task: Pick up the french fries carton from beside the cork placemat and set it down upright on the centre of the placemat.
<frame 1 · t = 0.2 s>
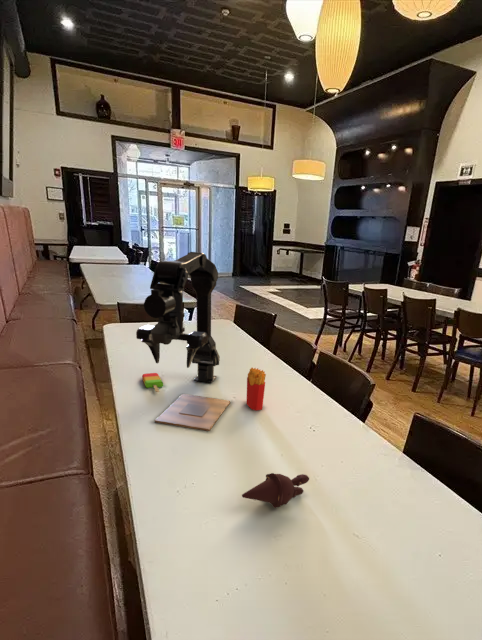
hand: (172, 365, 116), 15 cm above the table, tool pointing down, fingers open, 9 cm apart
popsicle: (153, 386, 139), on the table
placemat: (194, 411, 123), on the table
icecream: (274, 503, 86), on the table
french fries: (254, 406, 130), on the table
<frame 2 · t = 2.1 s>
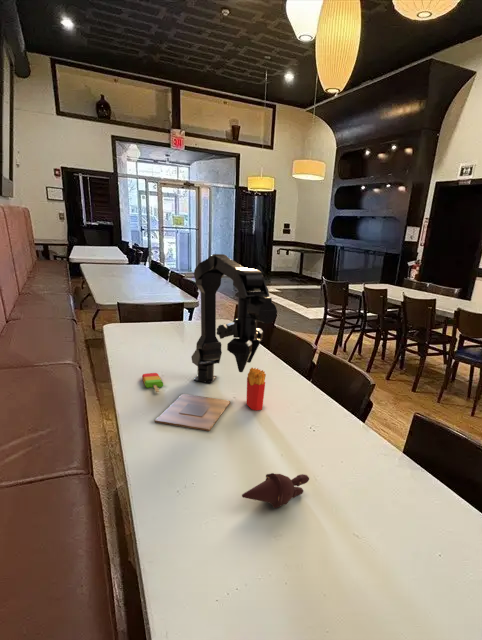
hand: (244, 367, 123), 13 cm above the table, tool pointing down, fingers open, 9 cm apart
nothing on the table moved.
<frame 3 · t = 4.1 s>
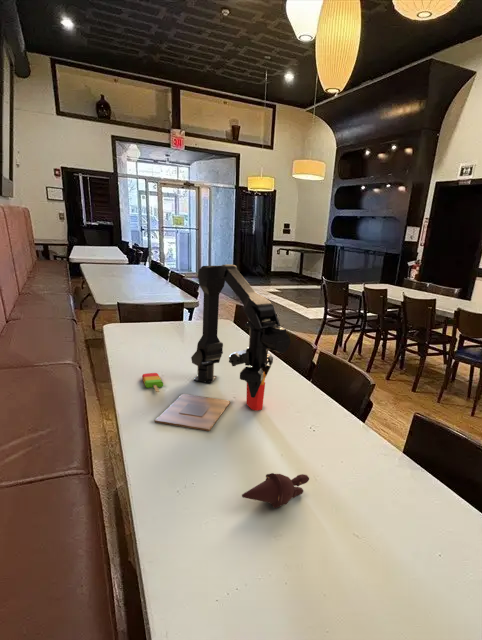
hand: (255, 392, 128), 5 cm above the table, tool pointing down, fingers closed on french fries, 7 cm apart
french fries: (254, 406, 130), on the table, touching gripper
everything else where it was.
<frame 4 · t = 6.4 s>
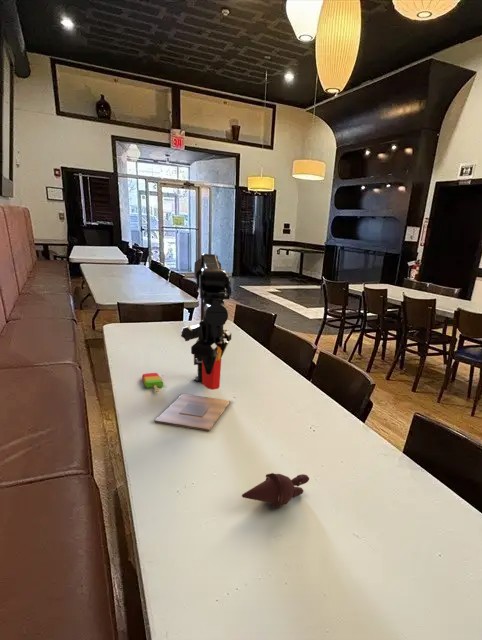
hand: (211, 370, 120), 13 cm above the table, tool pointing down, fingers closed on french fries, 6 cm apart
french fries: (211, 386, 122), point 8 cm above the table, touching gripper
everything else where it was.
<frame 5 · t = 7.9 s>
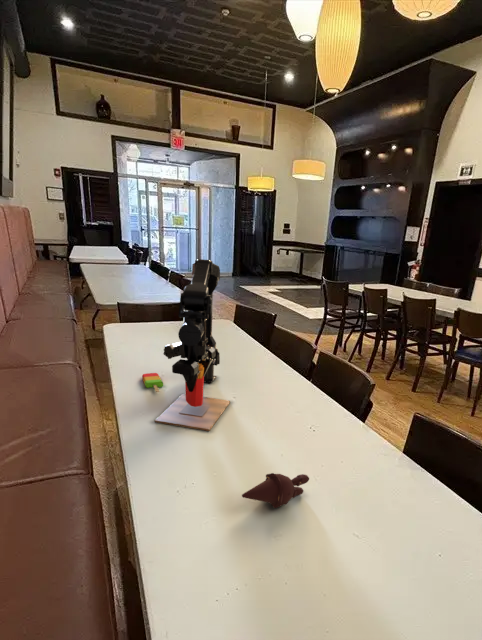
hand: (195, 387, 120), 8 cm above the table, tool pointing down, fingers closed on french fries, 6 cm apart
french fries: (194, 403, 122), point 3 cm above the table, touching gripper
everything else where it was.
when the fingers open (6 cm above the table, at t = 9.0 s): french fries stays where it is, resting on placemat.
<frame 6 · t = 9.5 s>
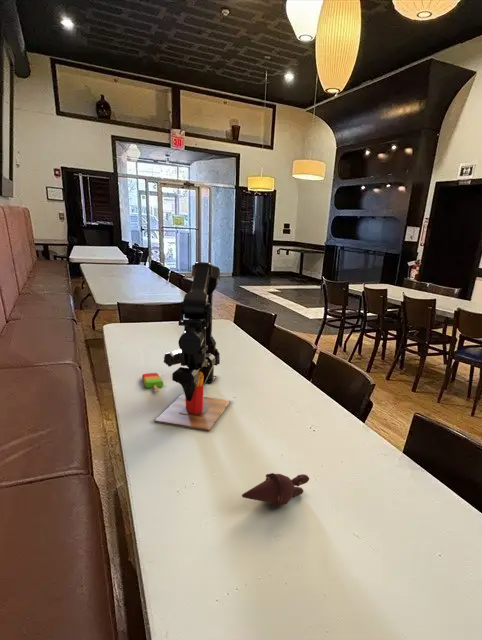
hand: (195, 394, 121), 6 cm above the table, tool pointing down, fingers open, 9 cm apart
french fries: (194, 410, 123), point 1 cm above the table, touching placemat
everything else where it was.
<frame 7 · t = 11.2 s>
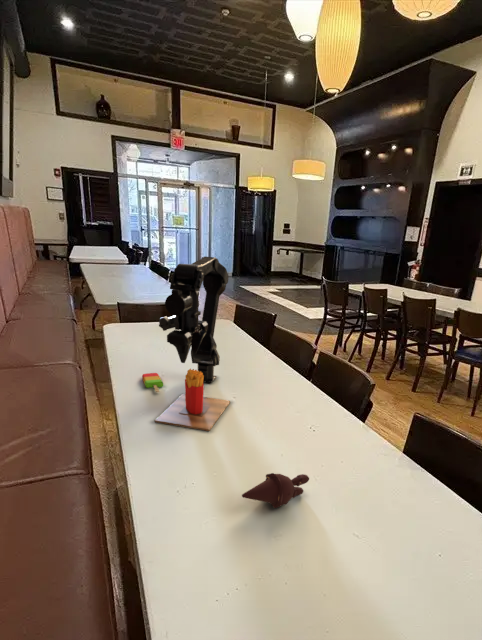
hand: (188, 358, 128), 13 cm above the table, tool pointing down, fingers open, 9 cm apart
nothing on the table moved.
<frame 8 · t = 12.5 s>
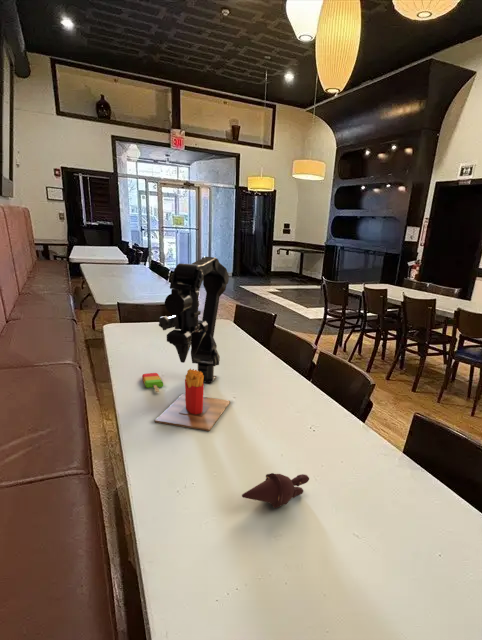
hand: (188, 357, 128), 13 cm above the table, tool pointing down, fingers open, 9 cm apart
nothing on the table moved.
at the end: french fries inside the target area on the placemat (0.1 cm from its centre), point 0.5 cm above the placemat's base; french fries tilted 0°; the gripper is holding nothing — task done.
